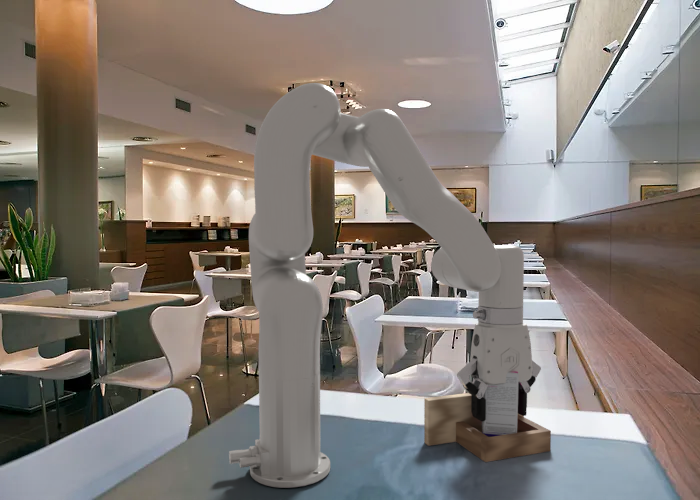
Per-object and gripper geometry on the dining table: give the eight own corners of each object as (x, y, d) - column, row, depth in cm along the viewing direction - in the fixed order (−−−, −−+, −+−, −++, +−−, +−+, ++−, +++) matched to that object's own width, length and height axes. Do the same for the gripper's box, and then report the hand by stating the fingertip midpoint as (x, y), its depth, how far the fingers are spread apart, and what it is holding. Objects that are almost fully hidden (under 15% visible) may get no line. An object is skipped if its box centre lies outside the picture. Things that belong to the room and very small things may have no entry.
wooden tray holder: (455, 467, 87) (455, 417, 87) (424, 442, 97) (424, 398, 97) (557, 449, 94) (558, 403, 94) (518, 428, 104) (519, 386, 104)
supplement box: (518, 439, 93) (519, 372, 92) (482, 437, 94) (482, 371, 93) (515, 427, 98) (515, 364, 98) (481, 425, 100) (481, 362, 99)
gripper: (468, 322, 89) (467, 429, 90) (556, 316, 95) (554, 417, 95) (445, 315, 96) (444, 414, 97) (528, 310, 102) (526, 404, 102)
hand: (499, 415), depth 96 cm, fingers closed on supplement box, 7 cm apart
